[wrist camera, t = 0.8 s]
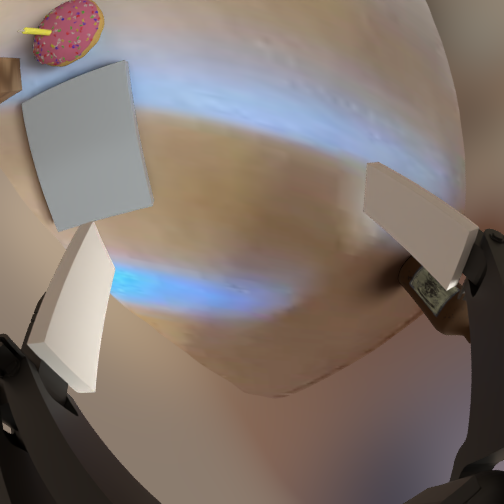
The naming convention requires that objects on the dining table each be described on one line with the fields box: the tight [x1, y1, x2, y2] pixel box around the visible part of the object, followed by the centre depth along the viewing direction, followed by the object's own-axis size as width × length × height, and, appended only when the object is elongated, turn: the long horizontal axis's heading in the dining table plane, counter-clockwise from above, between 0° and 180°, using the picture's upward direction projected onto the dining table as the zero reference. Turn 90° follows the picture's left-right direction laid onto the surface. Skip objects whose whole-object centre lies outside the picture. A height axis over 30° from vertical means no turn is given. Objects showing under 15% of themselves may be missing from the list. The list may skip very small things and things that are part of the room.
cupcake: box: [17, 0, 104, 67], centre depth 14 cm, size 9×8×12 cm
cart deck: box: [21, 60, 154, 232], centre depth 26 cm, size 18×14×3 cm
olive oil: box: [399, 256, 471, 343], centre depth 46 cm, size 11×11×25 cm
